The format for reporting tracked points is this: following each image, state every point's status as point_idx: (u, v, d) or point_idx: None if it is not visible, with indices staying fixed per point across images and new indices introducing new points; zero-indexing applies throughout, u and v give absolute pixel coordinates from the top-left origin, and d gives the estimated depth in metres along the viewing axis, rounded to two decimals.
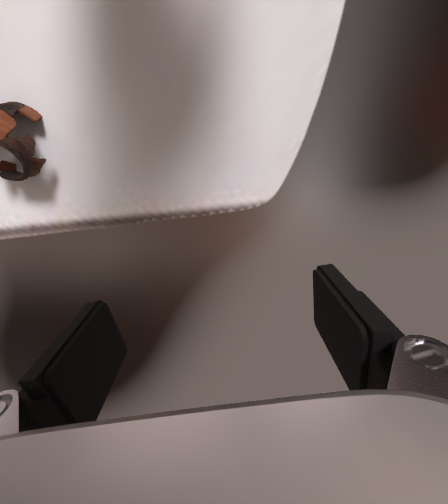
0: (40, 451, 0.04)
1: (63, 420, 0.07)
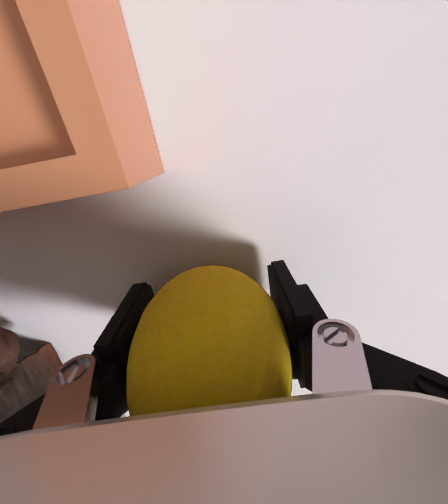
0: (40, 451, 0.04)
1: None
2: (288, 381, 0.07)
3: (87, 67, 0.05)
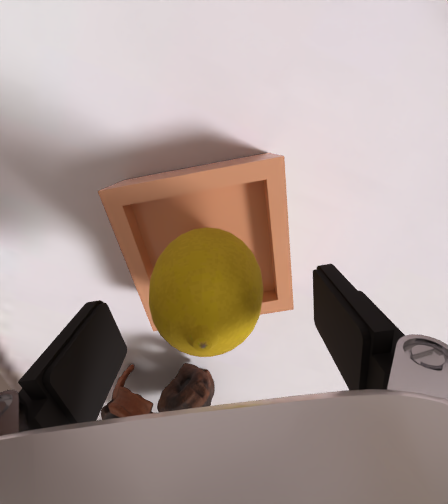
0: (40, 451, 0.04)
1: (63, 420, 0.07)
2: (257, 295, 0.10)
3: (291, 277, 0.15)
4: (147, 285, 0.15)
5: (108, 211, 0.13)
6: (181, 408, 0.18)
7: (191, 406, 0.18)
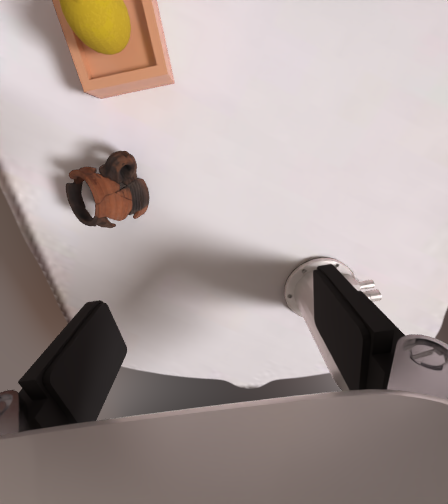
0: (40, 451, 0.04)
1: (64, 420, 0.07)
2: None
3: (161, 45, 0.26)
4: (76, 50, 0.26)
5: None
6: (111, 160, 0.29)
7: (117, 158, 0.29)
